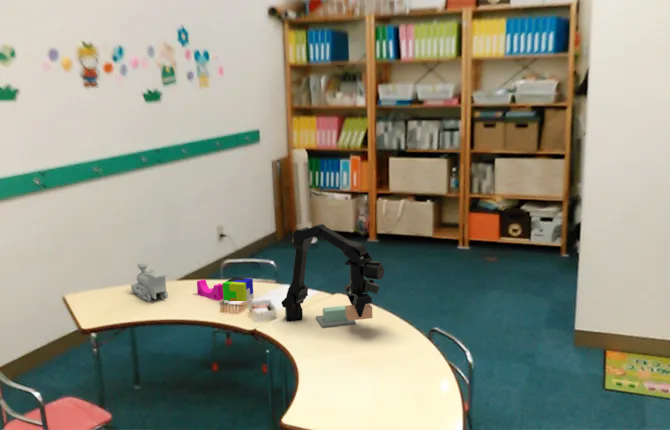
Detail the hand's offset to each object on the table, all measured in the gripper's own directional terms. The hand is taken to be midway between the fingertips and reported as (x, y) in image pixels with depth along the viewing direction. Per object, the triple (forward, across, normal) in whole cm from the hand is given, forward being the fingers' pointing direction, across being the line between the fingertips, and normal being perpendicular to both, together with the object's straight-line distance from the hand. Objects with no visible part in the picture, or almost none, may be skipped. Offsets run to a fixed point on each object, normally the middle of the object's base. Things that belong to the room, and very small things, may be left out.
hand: (358, 314), depth 246 cm
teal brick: (+6, +13, +6) cm, 15 cm away
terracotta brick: (+1, 0, 0) cm, 1 cm away
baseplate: (+6, +13, +6) cm, 16 cm away
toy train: (+7, +74, +82) cm, 110 cm away
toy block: (+7, +63, +53) cm, 83 cm away
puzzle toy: (+7, +52, +42) cm, 67 cm away
